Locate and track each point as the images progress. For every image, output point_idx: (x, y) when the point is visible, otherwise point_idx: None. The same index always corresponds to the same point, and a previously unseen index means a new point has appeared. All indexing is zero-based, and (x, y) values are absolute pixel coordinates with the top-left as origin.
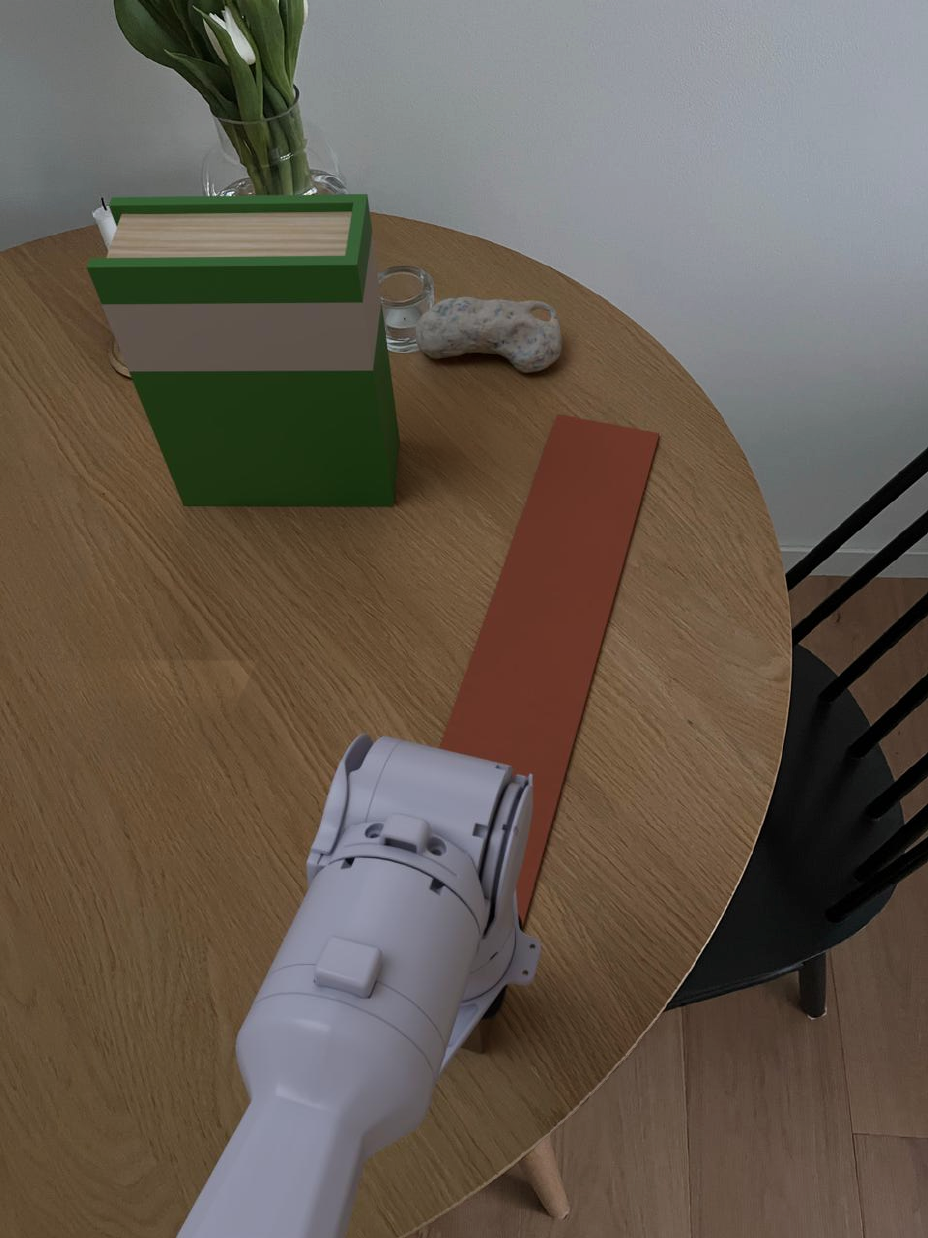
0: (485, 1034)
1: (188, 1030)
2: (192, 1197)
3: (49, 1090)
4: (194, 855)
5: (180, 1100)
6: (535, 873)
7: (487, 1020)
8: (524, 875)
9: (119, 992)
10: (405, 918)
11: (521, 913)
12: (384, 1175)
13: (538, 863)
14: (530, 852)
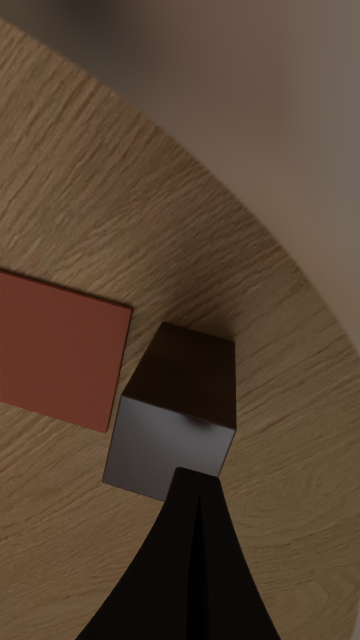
0: (221, 352)
1: None
2: (343, 560)
3: None
4: (75, 558)
5: (268, 567)
6: (41, 286)
7: (210, 360)
8: (45, 298)
9: None
10: None
11: (87, 302)
12: (343, 429)
13: (30, 283)
14: (19, 291)
